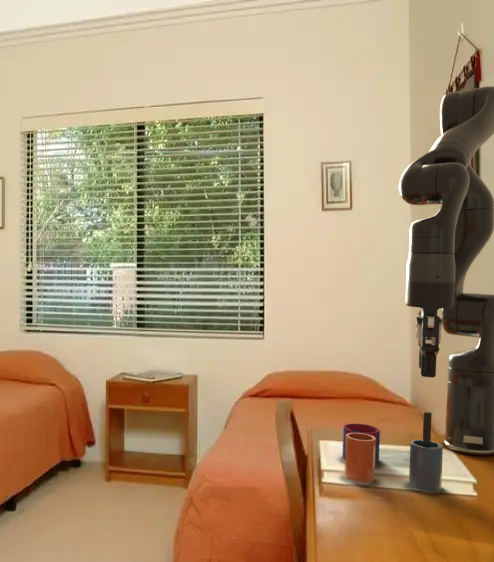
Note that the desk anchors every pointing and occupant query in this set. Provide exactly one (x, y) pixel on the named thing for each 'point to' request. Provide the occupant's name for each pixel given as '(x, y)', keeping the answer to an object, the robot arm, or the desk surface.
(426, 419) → the chopstick
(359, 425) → the mug
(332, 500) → the desk surface
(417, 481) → the holder
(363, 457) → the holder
